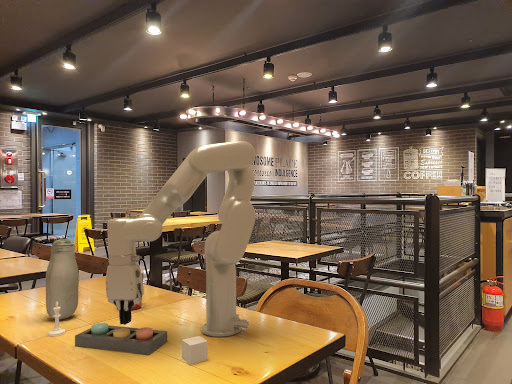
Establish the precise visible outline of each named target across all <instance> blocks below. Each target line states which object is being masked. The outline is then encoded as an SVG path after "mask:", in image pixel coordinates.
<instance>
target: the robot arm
mask: <svg viewBox="0 0 512 384" xmlns="http://www.w3.org/2000/svg"><path fill="white" fill-rule="evenodd" d="M256 155H257V154H256V150H255V147H254V146H253V145H252V144H251V143H250V142H249V141H246V140H235V141H229V142H228V141H227V142H221V143H212V144H204V145H200V146H198V147H196V148H194V149H193V150H191V151H190V152H189V154H188V155H187V156H186V158H184V160H182V162H181V164H180V165H179V166H178V168H176V170H175V171H174V172H173V174H172V175H171V176H170V177H169V179H168V180H167V181H166V182H165V184H164V185H162V187H161V188H160V190H159V191H158V193H157V194H156V195H155V196H154V198H153V199H151V200H150V202H149V204H147V206H146V207H145V208H144V210H143V211H141V214H139V216H138V218H137V217H136V218H131V217H115V218H111V219H108V221H107V225H106V226H107V228H106V229H107V245H108V246H107V248H108V250H107V251H108V265H107V269H106V274H105V275H106V276H105V296H106V298H107V302H108V303H110V304H113V305H114V306H115V307H116V310H117V311H118V315H119V316H118V317H119V325H123V326H124V325H127V324H130V323H131V322H132V310H131V308H133V306H134V305H135V304H139V303H141V302H142V303H143V298H142V299H141V296H142V297H143V296H144V294H145V289H144V278H143V279H142V273H141V269H140V267H141V266H139V265H140V263H137V262H139V261H140V256H137V250H136V242H144V243H145V242H146V243H147V242H148V243H149V242H154V241H157V239H159V238H160V237H161V236H162V233H163V225H164V224H165V222H166V221H167V219H169V218H170V216H171V215H172V214H173V213H174V212H175V210H177V209H178V208H180V207H181V206H183V205H184V204H185V203H186V202H187V201H188V200H189V199H190V198H191V197H192V196H193V194H194V193H195V192H196V190H197V189H198V188H199V186H200V185H201V184H202V182H204V180H205V179H206V178H207V176H208V175H209V174H210V173H220V172H227V174H228V183H227V186H226V190H225V192H224V196H223V199H222V202H221V205H220V206H219V209H218V214H217V217H218V221H219V223H220V224H221V227H220V229H219V230H215V231H213V232H211V233H210V234H209V235H208V236H207V238H206V239H205V242H204V258H205V274H206V275H205V276H206V277H205V280H206V282H205V283H206V284H205V285H206V286H205V287H206V288H205V289H206V291H205V293H206V294H205V295H206V296H205V297H206V298H205V300H206V303H205V304H206V307H205V308H206V310H205V311H206V320H205V321H206V322H205V323H204V324H203V325H202V326H201V333H203V334H204V335H206V336H210V337H217V338H219V337H220V338H221V337H229V336H234V335H236V334H238V333H240V332H241V331H242V328H243V329H249V325H250V323H249V321H248V319H245V318H244V319H241V318H240V314H238V313H237V268H236V264H237V263H239V262H240V261H241V260H242V258H243V257H244V254H245V253H246V250H247V249H248V248H247V247H248V244H249V241H250V239H251V235H252V232H253V229H254V226H255V224H256V223H255V222H256V218H257V215H256V210H255V208H254V206H253V204H252V203H251V199H252V195H253V192H254V189H255V188H254V187H255V183H256V182H255V181H256V179H255V174H254V171H253V168H252V165H253V163H254V162H255V160H256V157H257V156H256Z"/></svg>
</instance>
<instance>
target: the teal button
mask: <svg viewBox="0 0 512 384" xmlns="http://www.w3.org/2000/svg"><path fill="white" fill-rule="evenodd" d="M108 325H109V323H106V322H99V323H95V324H93V325H91V327H90V328H91V334H92V335H101V336H102V335H104V334H106V333H108Z"/></svg>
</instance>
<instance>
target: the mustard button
mask: <svg viewBox="0 0 512 384" xmlns="http://www.w3.org/2000/svg"><path fill="white" fill-rule="evenodd" d="M129 335H130V329H127V328H122V329H117V330H115V331H114V332H113V337H119V338H125V337H127V336H129Z"/></svg>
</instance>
